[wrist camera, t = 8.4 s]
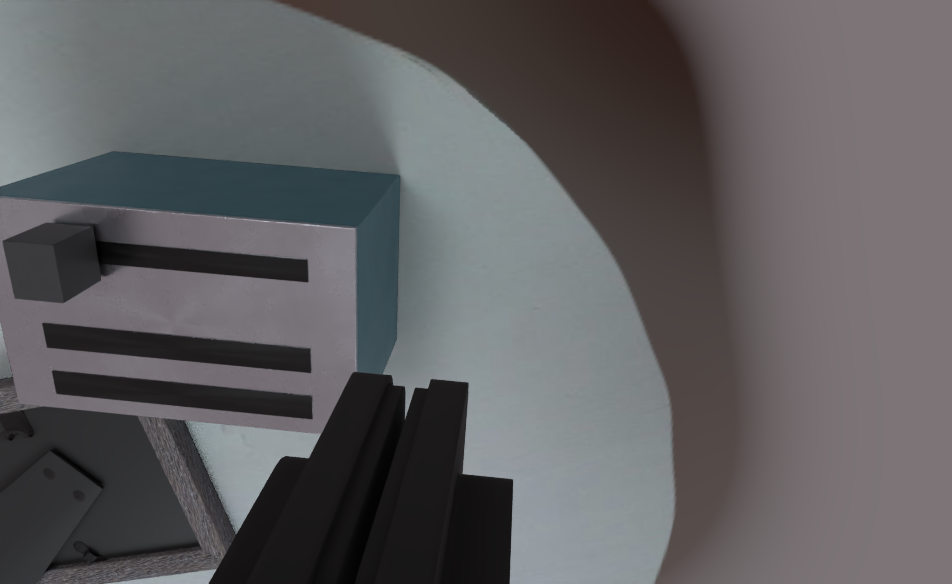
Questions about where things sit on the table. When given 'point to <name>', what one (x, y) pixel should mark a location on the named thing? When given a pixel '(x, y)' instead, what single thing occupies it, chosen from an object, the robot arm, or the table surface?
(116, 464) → the picture frame
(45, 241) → the block
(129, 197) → the toaster
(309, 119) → the table surface
